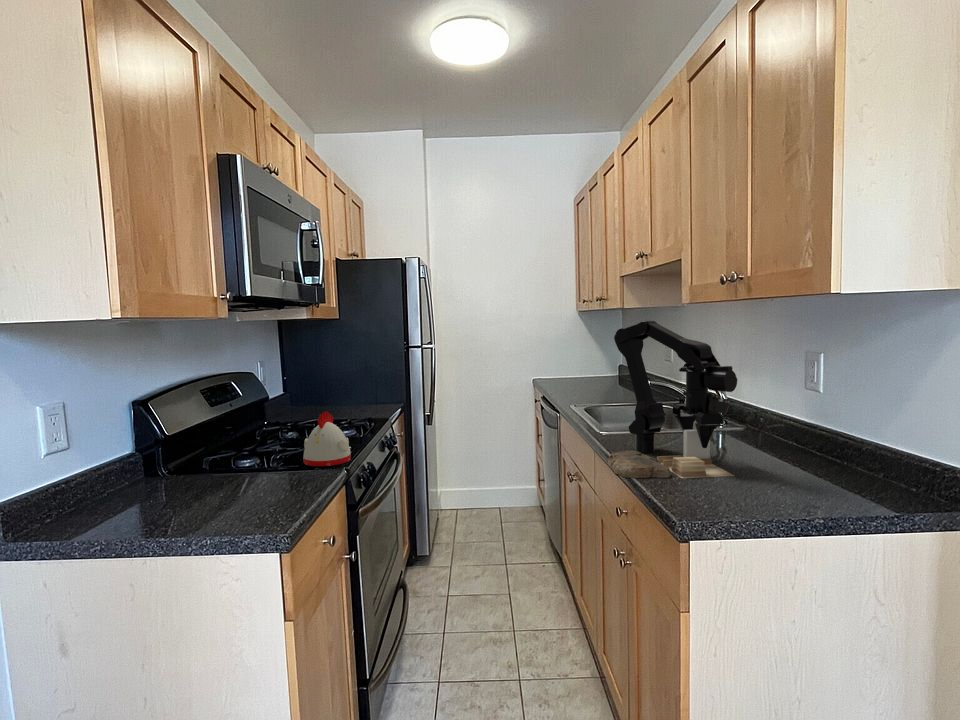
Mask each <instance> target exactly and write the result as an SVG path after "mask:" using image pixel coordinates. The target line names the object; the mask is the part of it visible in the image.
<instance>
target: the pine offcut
mask: <svg viewBox="0 0 960 720" xmlns="http://www.w3.org/2000/svg"><path fill="white" fill-rule="evenodd" d="M673 462H674V463H675V464H677V465H679V466H680V467H699V466H704V461H702V460H700V459H698V458H697V457H675V458H673Z"/></svg>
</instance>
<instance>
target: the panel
mask: <svg viewBox="0 0 960 720" xmlns="http://www.w3.org/2000/svg"><path fill="white" fill-rule="evenodd" d="M710 447H711V439H710V440H709V443H708V446H707V448H702V445H701V442H700V439H699V436H698V432H697V429H693V430H684V433H683V452H682V453H683V454H682V455H683V457H697V458H698V459H699V458H711V456H710V454H711V452H710V451H711V449H710Z"/></svg>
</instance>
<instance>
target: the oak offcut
mask: <svg viewBox="0 0 960 720" xmlns="http://www.w3.org/2000/svg"><path fill="white" fill-rule="evenodd" d="M672 466H673V467H674V468H676V469H677V470H679V471H681V472H695V471H705V466H699V467H680V466H679V465H677V464H675V463H674V462H672Z"/></svg>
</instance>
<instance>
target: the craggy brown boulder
mask: <svg viewBox="0 0 960 720" xmlns="http://www.w3.org/2000/svg"><path fill="white" fill-rule="evenodd" d="M607 466H608V467H610V468H611V469H612V472H613V473H614V474H616V475H618V476H620V477H622V478H631V479H636V478H637V479H638V478H640V479H641V478H642V479H643V478H670V477H672V473H671V471H670V469H669V467H667V466H665V465H663V464H661V463H660V462H659V461H658V460H657V458H654V457H651V456H649V455H647V454H645V453H642V452H638V451H636V450H632V449H631V450H629V449H628V450H627V449H626V450H620V451H614V452H611V454H610V455H609V456H608V461H607Z"/></svg>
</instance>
